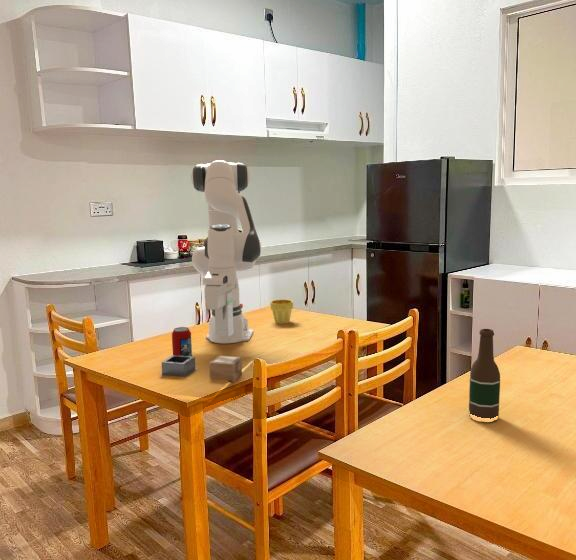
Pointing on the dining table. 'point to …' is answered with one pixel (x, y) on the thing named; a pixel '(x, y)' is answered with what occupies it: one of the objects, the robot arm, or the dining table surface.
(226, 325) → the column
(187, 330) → the beverage can
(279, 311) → the plant pot
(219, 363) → the pedestal
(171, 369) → the grey square bin
